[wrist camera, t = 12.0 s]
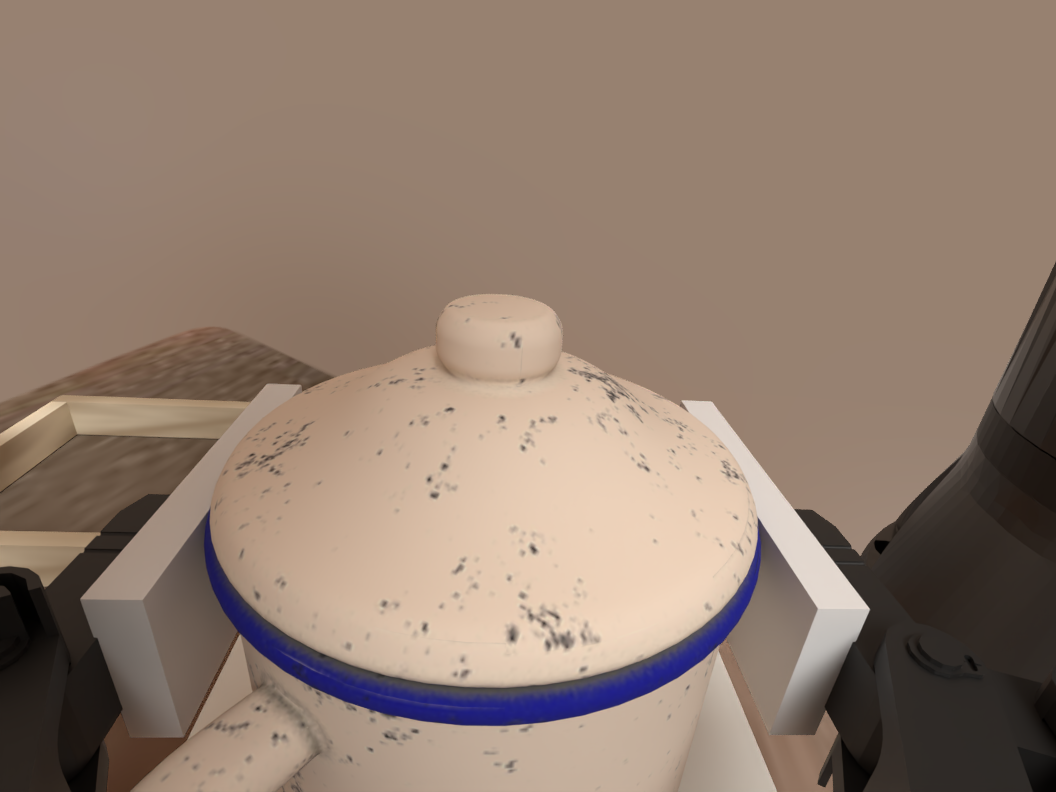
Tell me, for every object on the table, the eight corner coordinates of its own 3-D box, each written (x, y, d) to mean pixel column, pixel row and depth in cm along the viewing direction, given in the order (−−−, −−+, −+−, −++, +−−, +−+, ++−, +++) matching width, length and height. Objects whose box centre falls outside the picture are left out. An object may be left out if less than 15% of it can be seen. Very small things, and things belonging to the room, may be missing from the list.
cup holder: (271, 589, 23) (264, 550, 22) (-146, 584, 21) (-171, 541, 21) (344, 435, 34) (342, 405, 33) (71, 426, 32) (61, 395, 32)
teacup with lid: (460, 583, 19) (465, 233, 15) (723, 739, 15) (862, 310, 10) (24, 956, 10) (-355, 360, 5) (367, 1638, 6) (-31, 1792, 1)
